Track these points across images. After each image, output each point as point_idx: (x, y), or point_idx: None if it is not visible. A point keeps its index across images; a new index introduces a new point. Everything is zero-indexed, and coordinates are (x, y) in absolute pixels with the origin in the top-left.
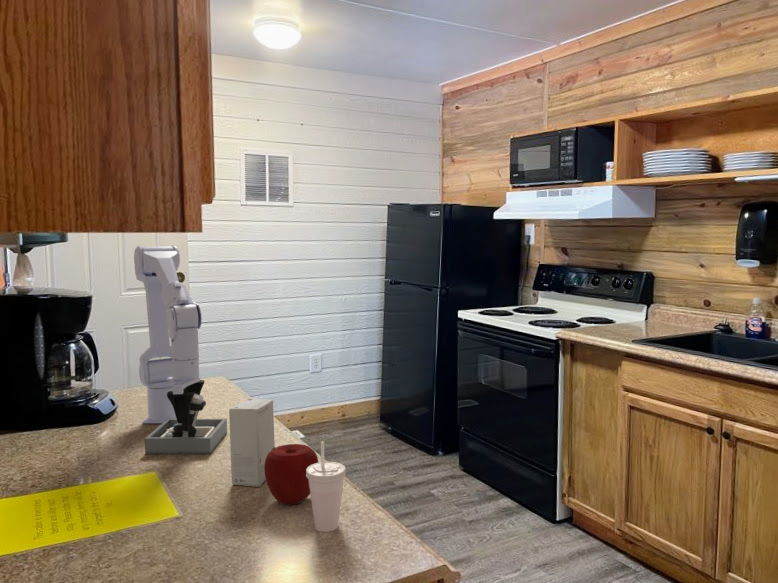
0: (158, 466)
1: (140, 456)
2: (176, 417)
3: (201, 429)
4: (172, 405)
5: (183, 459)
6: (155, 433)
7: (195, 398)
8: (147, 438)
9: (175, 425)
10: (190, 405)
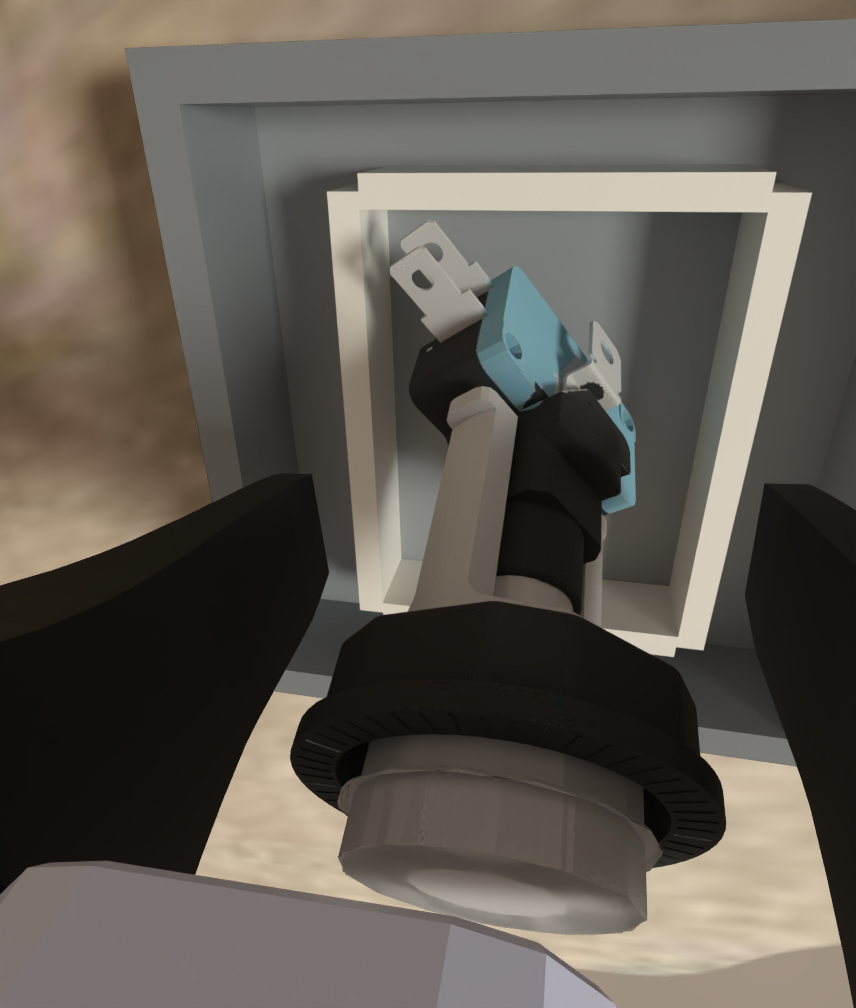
0: (17, 310)
1: (171, 28)
2: (227, 499)
3: (695, 533)
4: (37, 578)
5: (179, 453)
6: (372, 100)
7: (379, 881)
8: (136, 89)
9: (475, 359)
10: (221, 772)
